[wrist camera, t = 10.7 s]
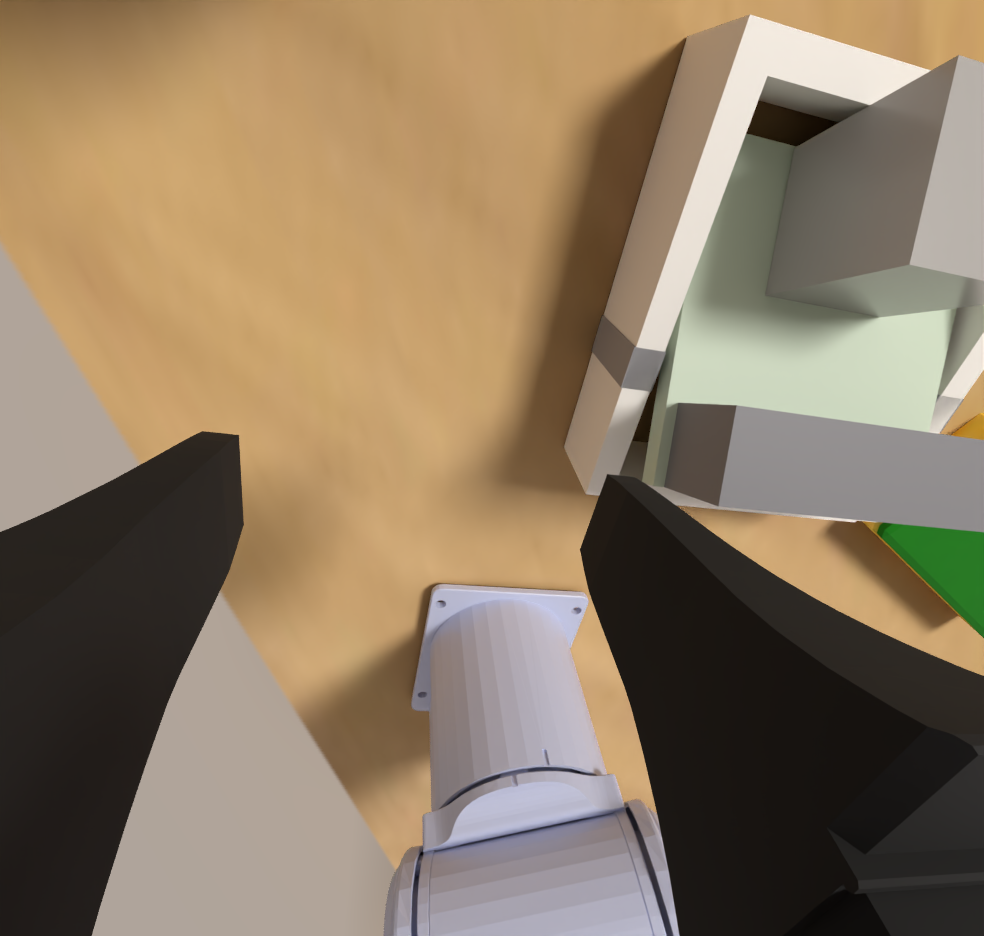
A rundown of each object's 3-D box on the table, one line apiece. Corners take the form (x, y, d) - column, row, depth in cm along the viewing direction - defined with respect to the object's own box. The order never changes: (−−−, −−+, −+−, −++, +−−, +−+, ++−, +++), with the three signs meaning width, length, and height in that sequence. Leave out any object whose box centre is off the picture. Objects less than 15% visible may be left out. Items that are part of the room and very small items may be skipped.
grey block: (879, 317, 18) (1055, 296, 13) (764, 295, 17) (909, 264, 13) (911, 178, 18) (1108, 103, 13) (794, 147, 17) (958, 55, 12)
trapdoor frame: (823, 478, 25) (876, 524, 22) (562, 449, 23) (583, 496, 20) (1029, 136, 18) (1147, 138, 15) (685, 35, 16) (748, 14, 13)
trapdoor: (890, 507, 20) (1001, 534, 17) (642, 481, 18) (705, 505, 15) (958, 202, 19) (1094, 157, 15) (698, 136, 17) (783, 67, 13)
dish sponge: (978, 403, 25) (1028, 428, 23) (1068, 536, 31) (1115, 565, 29) (845, 505, 27) (880, 536, 25) (952, 610, 33) (988, 642, 31)
